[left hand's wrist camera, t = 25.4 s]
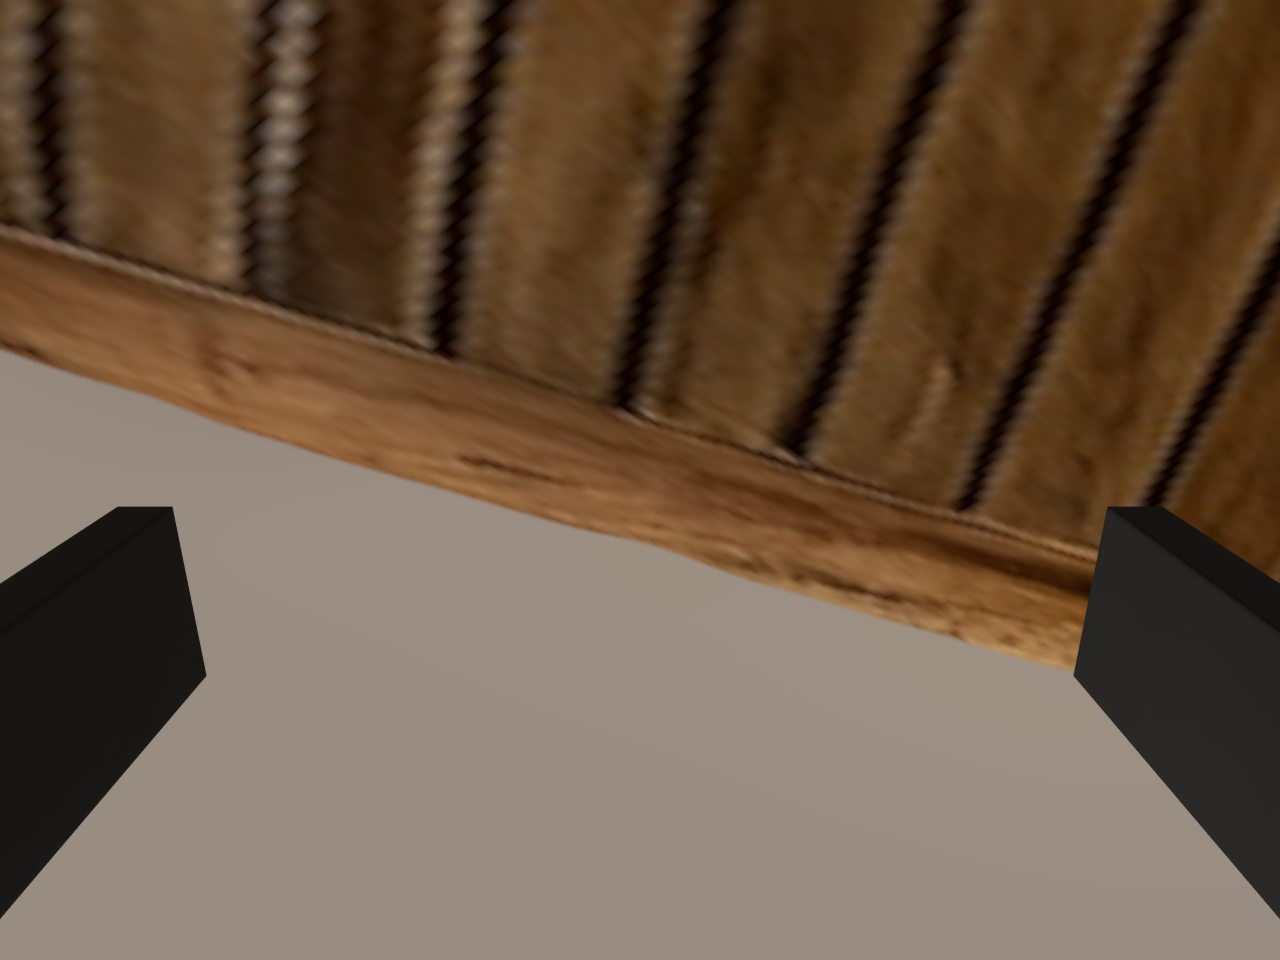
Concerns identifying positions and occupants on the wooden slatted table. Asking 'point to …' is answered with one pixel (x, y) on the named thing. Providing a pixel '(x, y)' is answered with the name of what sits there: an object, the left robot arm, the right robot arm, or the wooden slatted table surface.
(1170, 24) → the wooden slatted table surface
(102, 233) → the wooden slatted table surface
